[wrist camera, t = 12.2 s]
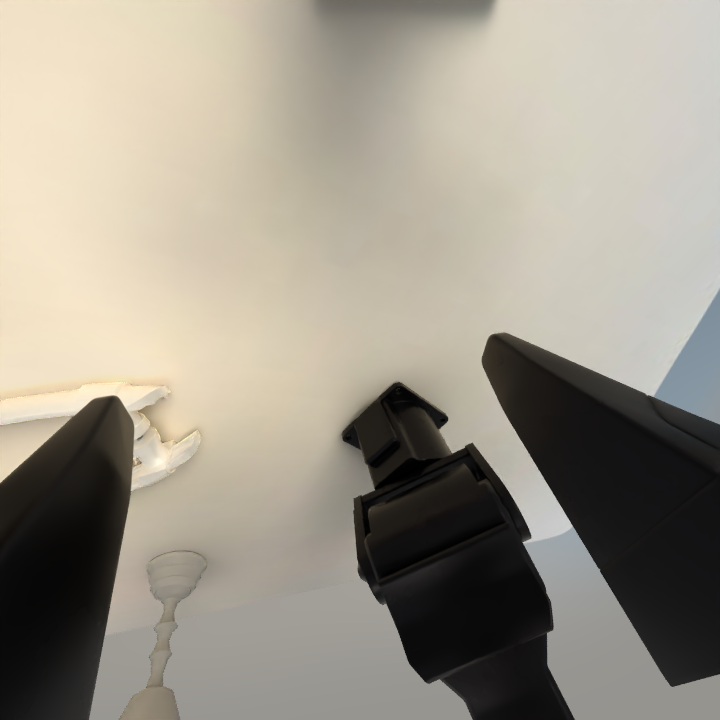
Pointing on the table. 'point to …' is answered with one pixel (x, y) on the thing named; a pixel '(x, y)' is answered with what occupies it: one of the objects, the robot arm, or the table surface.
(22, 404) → the door handle
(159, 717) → the chalice
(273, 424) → the table surface
